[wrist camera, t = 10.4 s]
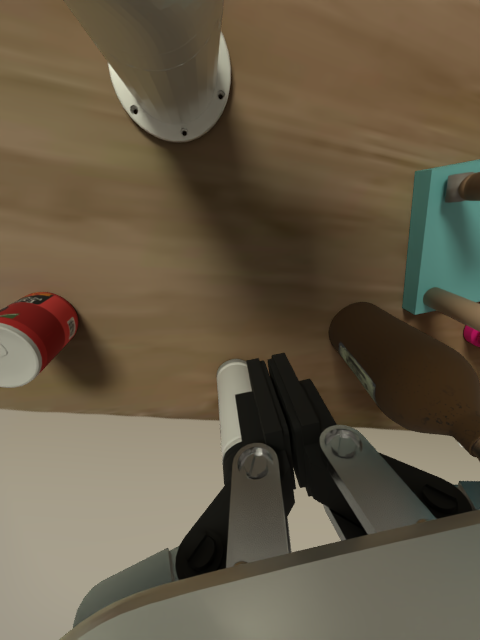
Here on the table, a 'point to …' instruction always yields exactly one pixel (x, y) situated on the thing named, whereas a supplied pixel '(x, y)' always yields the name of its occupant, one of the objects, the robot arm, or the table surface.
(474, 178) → the hinged leg
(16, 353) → the canned food
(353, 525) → the robot arm
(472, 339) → the pepper mill
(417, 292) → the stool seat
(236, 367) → the travel mug
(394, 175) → the table surface
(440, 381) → the olive oil
